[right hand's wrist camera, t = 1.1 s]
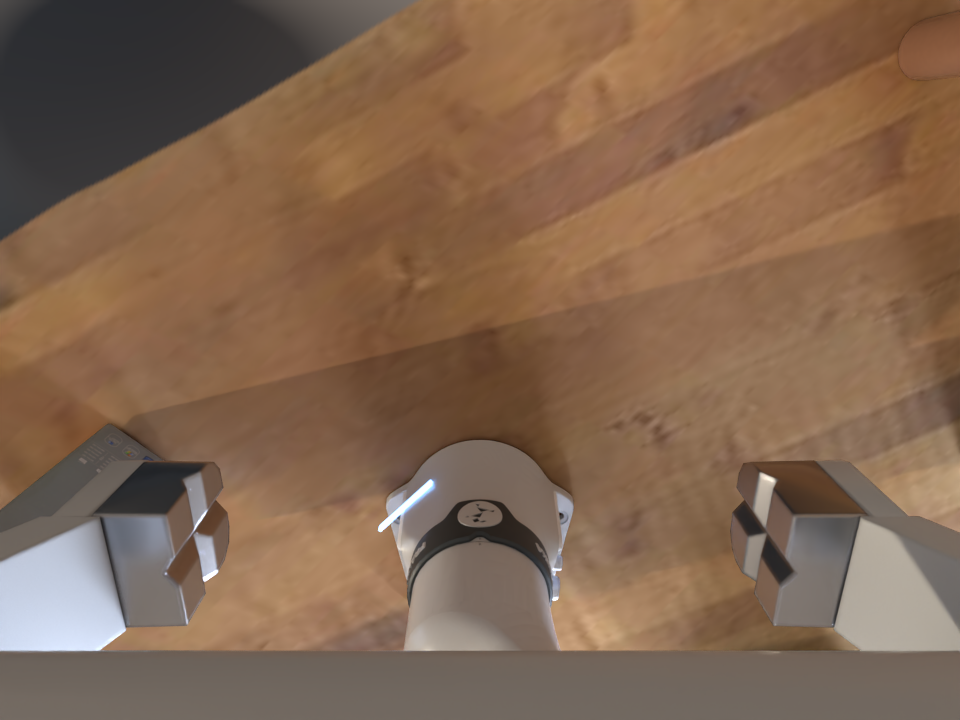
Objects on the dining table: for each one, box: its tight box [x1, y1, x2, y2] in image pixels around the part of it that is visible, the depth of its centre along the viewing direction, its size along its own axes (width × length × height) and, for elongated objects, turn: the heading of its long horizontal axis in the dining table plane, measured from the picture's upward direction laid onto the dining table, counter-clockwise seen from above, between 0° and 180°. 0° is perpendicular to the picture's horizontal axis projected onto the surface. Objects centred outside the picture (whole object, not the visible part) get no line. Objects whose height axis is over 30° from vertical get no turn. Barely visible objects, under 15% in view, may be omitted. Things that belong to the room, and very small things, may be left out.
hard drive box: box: [0, 424, 164, 533], centre depth 56 cm, size 16×8×20 cm, turn 138°
